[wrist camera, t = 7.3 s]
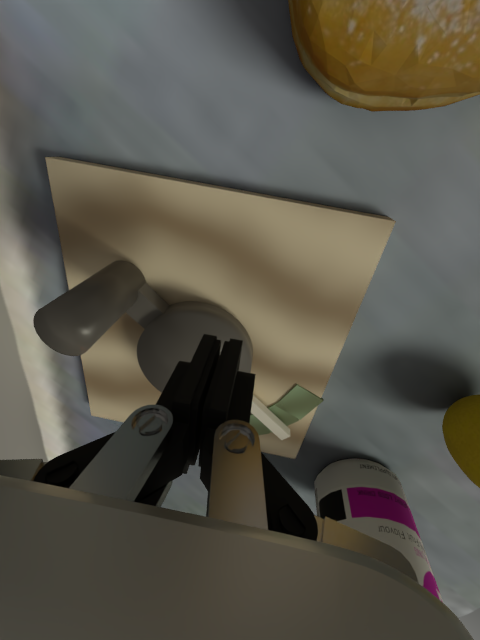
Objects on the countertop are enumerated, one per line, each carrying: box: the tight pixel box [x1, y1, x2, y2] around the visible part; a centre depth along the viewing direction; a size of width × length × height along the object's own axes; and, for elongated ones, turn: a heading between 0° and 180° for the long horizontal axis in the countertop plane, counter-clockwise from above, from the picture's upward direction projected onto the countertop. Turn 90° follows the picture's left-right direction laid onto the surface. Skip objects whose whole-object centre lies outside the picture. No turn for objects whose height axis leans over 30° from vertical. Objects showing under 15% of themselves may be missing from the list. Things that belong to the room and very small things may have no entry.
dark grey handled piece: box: [34, 260, 290, 440], centre depth 19 cm, size 19×8×6 cm, turn 42°
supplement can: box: [314, 459, 443, 602], centre depth 23 cm, size 8×8×15 cm
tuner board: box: [45, 157, 396, 459], centre depth 22 cm, size 22×20×1 cm
